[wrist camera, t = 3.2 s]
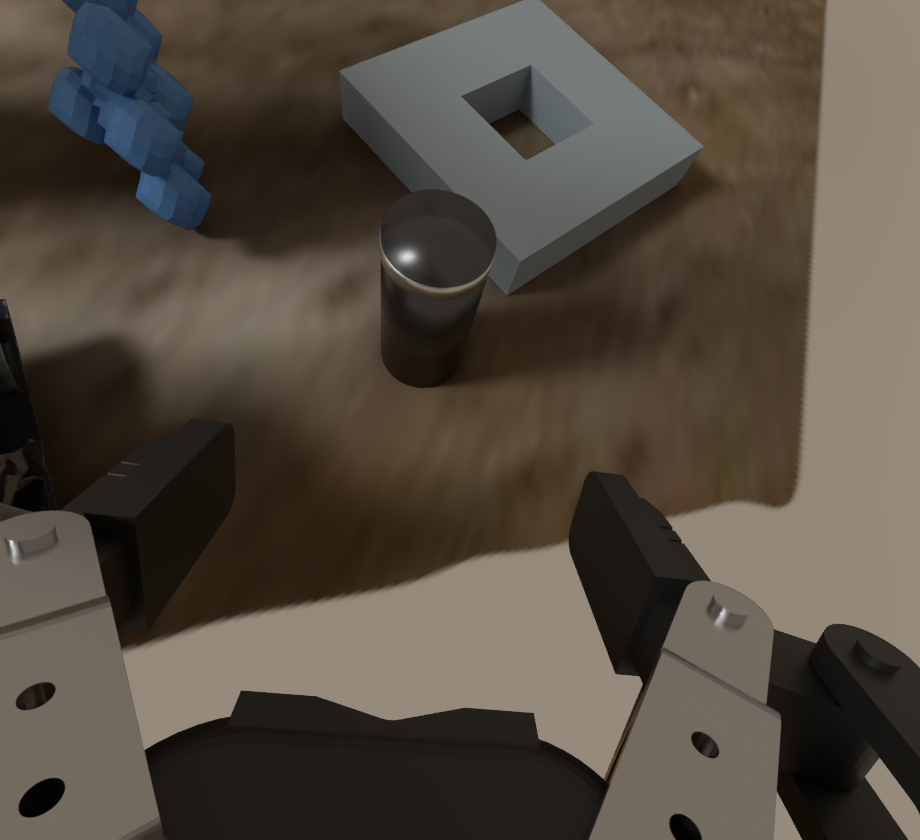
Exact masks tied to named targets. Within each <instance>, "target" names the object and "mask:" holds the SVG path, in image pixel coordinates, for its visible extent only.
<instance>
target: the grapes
mask: <svg viewBox="0 0 920 840" xmlns="http://www.w3.org/2000/svg"><path fill="white" fill-rule="evenodd" d="M62 1H63V2H64V3H65V4H66V5H67V6H69V7H70V8H71V9H72V10H73V11H74V12H75V13H76V15H75V17H74V19H73V23H72V27H71V32H70V37H69V44H68V52H67V54H68V55H69V56H70V57H71V58H72V59H73V60H74V61H75V62H76V63H77V64H78V65H80V66H81V67H82V68H83V70H81V69H78V68H76V67H63V68H62V70H61V71H60V72H59V73H58V75H57V76H56V78H55V80H54V82H53V85H52V90H51V94H50V101H49V109H48V110H49V111H50V112H51V113H52V114H53V115H54V116H55V117H57V118H58V119H59V120H60V121H61V122H62V123H63V124H65V125H66V126H67V127H68V128H69V129H71V130H72V131H73V132H74V133H75V134H77V135H79V136H81V137H83V138H85V139H87V140H88V141H90V142H93V143H95V144H107V145H108V146H109V147H110V148H111V149H112V150H114V151H115V152H116V153H117V154H118V155H119V156H121V157H122V158H123V159H124V160H125V161H126V162H128V163H129V164H130V165H131V166H133V167H135V168H137V169H138V170H139V171H141V174H140V181H139V185H138V189H137V193H136V198H137V199H138V200H139V201H141V202H142V203H143V204H144V205H145V206H146V207H147V208H149V209H150V210H151V211H152V212H154V213H155V214H156V215H157V216H158V217H160V218H162V219H164V220H166V221H168V222H170V223H172V224H174V225H177V226H180V227H182V228H185V229H187V230H190V229H194V228H196V227H198V226H199V225H200V224H201V222H202V221H203V219H204V217H205V215H206V212H207V209H208V206H209V203H210V199H211V194H210V193H209V192H208V191H207V190H206V189H205V188H204V187H203V186H202V185H201V184H200V183H199V180H200V177H201V173H202V170H203V166H204V163H205V162H204V161H203V160H202V159H201V158H200V157H198V156H197V155H196V154H195V153H194V152H193V151H192V150H191V149H190V148H189V147H188V146H187V145H186V144H184V143H183V141H182V138H183V135H184V131H183V130H182V128H183V127H184V125H185V124H186V122H187V118H188V115H189V111H190V107H191V103H192V100H193V96H192V95H191V94H190V93H189V92H188V91H187V90H186V89H185V88H184V87H183V86H182V85H181V84H180V83H179V82H178V81H177V80H176V79H175V78H174V77H173V76H172V75H171V74H169V73H168V72H167V71H165V70H164V69H163V68H162V67H161V66H159V65H158V64H157V63H156V61H157V57H158V53H159V49H160V44H161V40H162V34H161V33H160V32H159V31H158V30H157V29H156V28H155V27H154V26H153V24H152V23H151V22H150V21H149V20H148V19H147V18H146V17H145V16H144V15H143V14H142V13H141V12H139V11H138V10H137V9H136V6H137V2H138V0H62Z"/></svg>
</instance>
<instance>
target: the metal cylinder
mask: <svg viewBox="0 0 920 840" xmlns="http://www.w3.org/2000/svg"><path fill="white" fill-rule="evenodd" d="M496 245H497V238H496V232H495V229H494V226H493V224H492V222H491V220H490V219H489V217H488V216H487V214H486V213H485V212H484V211H483V210H482V209H481V208H480V207H479V206H478V205H477V204H475V203H474V202H473V201H471V200H469V199H468V198H466V197H464V196H462V195H459V194H456V193H454V192H450V191H446V190H438V189H427V190H419V191H415V192H412V193H409V194H406V195H404V196H402V197H401V198H399V199H398V200H396V201H395V202H394V203H393V204H392V205H391V206H390V207H389V208H388V210H387V211H386V213H385V215H384V217H383V219H382V223H381V227H380V234H379V249H380V258H381V354H382V359H383V362H384V365H385V366H386V368H387V370H388V371H389V372H390V373H391V375H392V376H393V377H395V378H396V379H397V380H399V381H400V382H402V383H404V384H406V385H409V386H413V387H419V388H428V387H434V386H437V385H440V384H442V383H444V382H446V381H447V380H448V379H450V378H451V377H452V376H453V375H454V373H455V372H456V371H457V369H458V367H459V364H460V361H461V358H462V355H463V352H464V348H465V345H466V342H467V339H468V336H469V333H470V330H471V326H472V323H473V320H474V317H475V314H476V311H477V308H478V304H479V301H480V298H481V295H482V292H483V289H484V285H485V282H486V279H487V277H488V275H489V273H490V270H491V267H492V264H493V261H494V258H495V254H496Z"/></svg>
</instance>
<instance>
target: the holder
mask: <svg viewBox="0 0 920 840" xmlns="http://www.w3.org/2000/svg"><path fill="white" fill-rule="evenodd" d="M339 75H340V88H341V100H342V112H343V119H344V120H345V121H346V123H347V124H348V125H349V126H350V127H351V128H352V129H353V130H354V131H355V132H356V133H357V134H358V136H359V137H360V138H361V139H362V140H363V141H364V142H365V143H366V144H367V145H368V146H369V147H370V149H371V150H372V151H373V152H374V153H375V154H376V155H377V156H378V157H379V158H380V159H381V160H382V162H383V163H384V164H385V165H386V166H387V167H388V168H389V169H390V170H391V171H392V172H393V173H394V174H395V176H396V177H397V178H398V179H399V180H400V181H401V182H402V183H403V184H404V185H405V186H406V187H407V189H408V190H409V191H410V192H411V193H412V192H415V191H419V190H427V189H438V190H446V191H450V192H454V193H456V194H459V195H462V196H464V197H466V198H468V199H469V200H471V201H473V202H474V203H475V204H477V205H478V206H479V207H480V208H481V209H482V210H483V211H484V212H485V213H486V214H487V216H488V217H489V219H490V220H491V222H492V224H493V226H494V229H495V232H496V238H497V245H496V254H495V258H494V261H493V264H492V267H491V270H490V273H489V275H488V276H489V277H490V278H491V279H492V280H493V282H494V283H495V284H496V285H497V286H498V287H499V288H500V289H501V290H502V291H503V292H504V293H505V295H506V296H507V295H509V294H510V293H512V292H513V291H515V290H516V289H518V288H519V287H521V286H523V285H524V284H526V283H527V282H529V281H530V280H532V279H533V278H535V277H536V276H538V275H539V274H541V273H542V272H544V271H546V270H547V269H549V268H550V267H552V266H553V265H555V264H556V263H558V262H559V261H561V260H562V259H564V258H566V257H567V256H569V255H570V254H572V253H573V252H575V251H576V250H578V249H579V248H581V247H582V246H584V245H585V244H587V243H589V242H590V241H592V240H593V239H595V238H596V237H598V236H599V235H601V234H602V233H604V232H605V231H607V230H609V229H610V228H612V227H613V226H615V225H616V224H618V223H619V222H621V221H622V220H624V219H625V218H627V217H628V216H630V215H632V214H633V213H635V212H636V211H638V210H639V209H641V208H642V207H644V206H645V205H647V204H648V203H650V202H652V201H653V200H655V199H656V198H658V197H659V196H661V195H662V194H664V193H665V192H667V191H668V190H670V189H671V188H673V187H675V186H676V185H677V184H678V183H679V181H680V180H681V178H682V177H683V176H684V174H685V173H686V171H687V170H688V168H689V167H690V166H691V164H692V163H693V161H694V160H695V158H696V157H697V156H698V154H699V153H700V151H701V150H702V148H703V147H704V146H702V145H701V144H700V143H699V142H698V141H697V140H696V139H695V138H694V137H692V136H691V135H690V134H689V133H688V132H687V131H686V130H685V129H683V128H682V127H681V126H680V125H679V124H678V123H677V122H676V121H674V120H673V119H672V118H671V117H670V116H669V115H668V114H667V113H665V112H664V111H663V110H662V109H661V108H660V107H659V106H658V105H657V104H655V103H654V102H653V101H652V100H651V99H650V98H649V97H648V96H646V95H645V94H644V93H643V92H642V91H641V90H640V89H639V88H637V87H636V86H635V85H634V84H633V83H632V82H631V81H630V80H628V79H627V78H626V77H625V76H624V75H623V74H622V73H621V72H620V71H618V70H617V69H616V68H615V67H614V66H613V65H612V64H611V63H609V62H608V61H607V60H606V59H605V58H604V57H603V56H602V55H600V54H599V53H598V52H597V51H596V50H595V49H594V48H593V47H591V46H590V45H589V44H588V43H587V42H586V41H585V40H584V39H583V38H581V37H580V36H579V35H578V34H577V33H576V32H575V31H574V30H572V29H571V28H570V27H569V26H568V25H567V24H566V23H565V22H563V21H562V20H561V19H560V18H559V17H558V16H557V15H556V14H554V13H553V12H552V11H551V10H550V9H549V8H548V7H547V6H546V5H544V4H543V3H542V2H541V1H540V0H523V1H521V2H518V3H515V4H513V5H510V6H508V7H505V8H502V9H500V10H497V11H494V12H492V13H489V14H487V15H484V16H481V17H479V18H476V19H474V20H471V21H468V22H466V23H463V24H460V25H458V26H455V27H453V28H450V29H447V30H445V31H442V32H439V33H437V34H434V35H432V36H429V37H426V38H424V39H421V40H419V41H416V42H413V43H411V44H408V45H405V46H403V47H400V48H398V49H395V50H392V51H390V52H387V53H384V54H382V55H379V56H377V57H374V58H371V59H369V60H366V61H364V62H361V63H358V64H356V65H353V66H350V67H348V68H345V69H343V70H340V71H339ZM517 110H520V111H521V112H522V113H523V114H524V115H525V116H526V117H527V118H528V119H529V120H530V121H531V122H532V123H533V124H534V125H535V126H536V127H538V128H539V129H540V130H541V131H542V132H543V133H544V134H545V135H546V136H547V137H548V138H549V139H550V140H551V141H552V142H553V143H554V144H555V145H554V146H552V147H550V148H548V149H547V150H545V151H543V152H541V153H539V154H537V155H535V156H533V157H532V158H530V159H528V160H525V159H524V158H523V157H522V156H521V155H520V154H519V153H518V152H517V151H516V150H515V149H514V148H513V147H512V146H511V145H510V144H509V143H508V142H507V141H506V140H505V139H504V138H503V137H502V136H501V135H500V134H499V133H498V132H497V131H496V130H495V129H494V128H493V127H492V126H491V125H490V123H492V122H494V121H496V120H498V119H500V118H502V117H504V116H507V115H509V114H511V113H513V112H515V111H517Z"/></svg>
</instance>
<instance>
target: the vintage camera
mask: <svg viewBox="0 0 920 840" xmlns="http://www.w3.org/2000/svg"><path fill="white" fill-rule="evenodd" d="M40 511H58V507H57V502H56V497H55V493H54V488H53V484H52V480H51V475H50V474H49V472H48V470H47V468H46V467H45V462H44V451H43V440H42V436H41V432H40V428H39V424H38V420H37V417H36V413H35V409H34V405H33V401H32V397H31V393H30V389H29V386H28V382H27V379H26V375H25V371H24V367H23V363H22V359H21V355H20V351H19V348H18V344H17V340H16V336H15V333H14V329H13V325H12V321H11V318H10V314H9V310H8V307H7V303H6V299H0V522H1V521H4V520H7V519H9V518H13V517H16V516H19V515H24V514H28V513H33V512H40Z"/></svg>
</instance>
